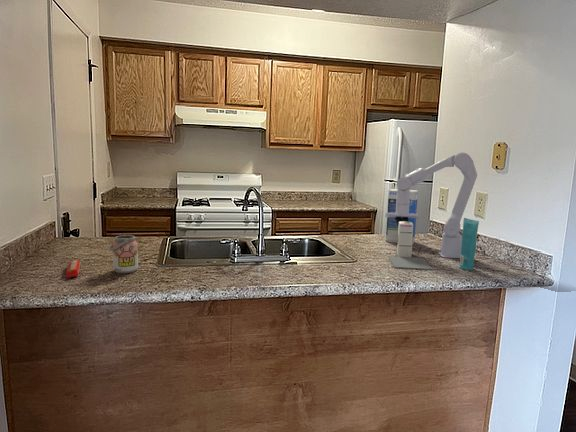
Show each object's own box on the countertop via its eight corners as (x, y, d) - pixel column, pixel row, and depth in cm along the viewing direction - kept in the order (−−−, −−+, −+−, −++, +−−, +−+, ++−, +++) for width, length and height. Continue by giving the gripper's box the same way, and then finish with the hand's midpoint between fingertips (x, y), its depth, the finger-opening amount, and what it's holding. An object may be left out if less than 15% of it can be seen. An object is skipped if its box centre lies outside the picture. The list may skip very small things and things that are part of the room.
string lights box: (414, 242, 200) (418, 190, 196) (412, 245, 193) (416, 191, 189) (387, 239, 206) (391, 188, 202) (384, 241, 199) (388, 189, 195)
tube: (478, 270, 153) (483, 220, 150) (469, 271, 151) (474, 221, 148) (462, 265, 160) (467, 217, 157) (453, 266, 158) (458, 218, 155)
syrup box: (411, 258, 169) (414, 223, 167) (397, 257, 170) (399, 223, 168) (410, 254, 175) (412, 221, 172) (396, 253, 176) (398, 220, 173)
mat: (422, 259, 168) (422, 257, 168) (432, 270, 152) (432, 268, 152) (388, 257, 169) (388, 256, 169) (394, 268, 153) (394, 266, 153)
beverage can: (110, 275, 136) (109, 240, 134) (109, 268, 143) (107, 235, 141) (140, 272, 140) (138, 238, 138) (136, 266, 147) (135, 233, 145)
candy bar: (69, 267, 145) (68, 259, 144) (80, 266, 146) (80, 258, 146) (65, 280, 130) (65, 271, 130) (78, 279, 132) (78, 270, 131)
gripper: (417, 203, 183) (415, 232, 185) (385, 202, 184) (383, 231, 187) (420, 205, 176) (418, 235, 178) (387, 204, 178) (385, 234, 180)
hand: (400, 233), depth 182 cm, fingers closed
